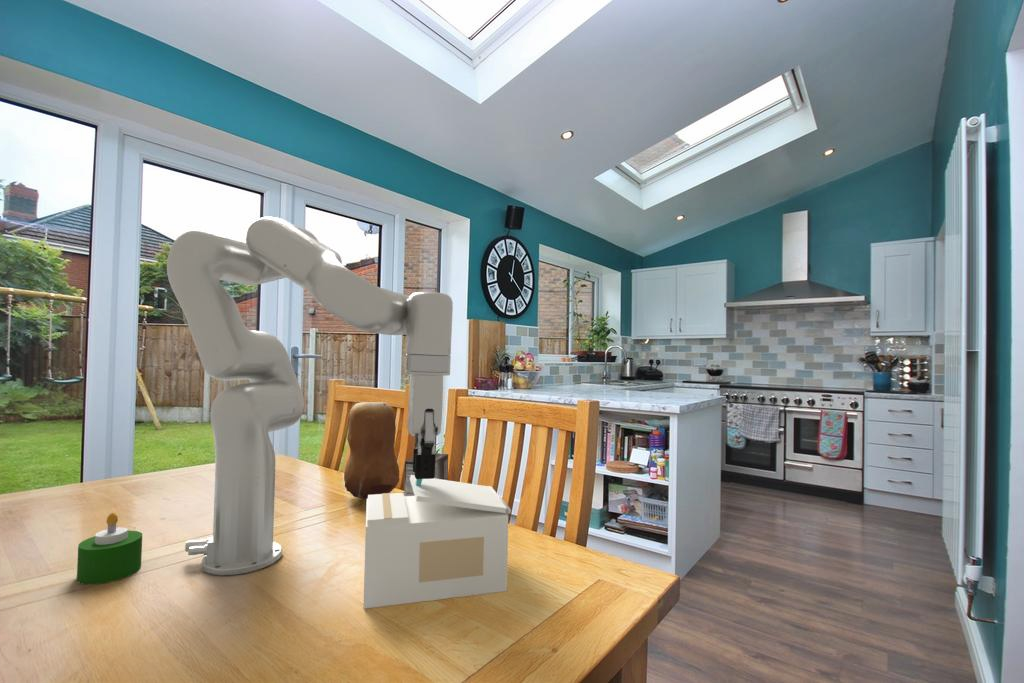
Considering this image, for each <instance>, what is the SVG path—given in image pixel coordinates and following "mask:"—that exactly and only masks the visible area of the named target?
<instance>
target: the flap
mask: <svg viewBox="0 0 1024 683" xmlns="http://www.w3.org/2000/svg"><path fill="white" fill-rule="evenodd" d="M410 482H411V485H412V488H413V492H414V495H415V499H416V501H419V502H426V503H433V504H441V505H448V506H456V507H463V508H470V509H478V510H485V511H493V512H500V513H506V514H507V515H509V514H511V513H512V509H511V508H510V506H509V505H508V504H507V503H506V502H505V501H504V499H503V498H502V497H501V496H500V495H499V494H498V492H497V491H496V490H495V489H494V488H493V487H492V486H490V485H481V484H475V483H468V482H461V481H454V480H442V479H436V478H433V479H416V478H415V475H411V476H410Z"/></svg>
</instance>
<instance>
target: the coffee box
mask: <svg viewBox="0 0 1024 683" xmlns="http://www.w3.org/2000/svg"><path fill="white" fill-rule="evenodd" d="M435 454H436V458H435V477H434V478H436V479H442V480H448V479H449V478H448V477H449V453H435ZM411 475H415V473H414V472H413V457H411V458H409V459H407V460H406V461H404V485H403V486H404V487H403V488H404V490H403V491H404V493H403V495H404V496H415V495H414V492H413V488H412V485H411V482H410V476H411Z"/></svg>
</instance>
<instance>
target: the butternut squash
mask: <svg viewBox="0 0 1024 683" xmlns="http://www.w3.org/2000/svg"><path fill="white" fill-rule="evenodd" d="M395 416H396V415H395V411H394V409H393V407H392V405H390V404H389V403H387V402H382V401H374V402H373V401H372V402H371V401H368V402H366V401H362V402H358V403H356V404H353V405H352V407H351V408H350V411H349V413H348V420H347V421H348V423H347V424H348V428H347V431H348V432H347V442H348V446H349V455H348V458H347V461H346V463H345V466H344V472H343V474H344V475H343V478H344V479H343V482H344V487H345V489H346V492H349V494H351V495H352V496H353V497H354V498H356V499H361V500H367V499H368V495H374V494H382V493H389V494H391V492H392V491H393V490H395V489H396V487H397V486H398V484H399V482H400V467H399V463H398V460H397V458H396V454H395V443H396V431H397V429H396V427H397V426H396V418H395Z"/></svg>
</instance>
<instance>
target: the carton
mask: <svg viewBox="0 0 1024 683" xmlns="http://www.w3.org/2000/svg"><path fill="white" fill-rule="evenodd" d="M365 508H366V510H365V512H366V513H365V515H366V516H365V541H364V543H365V544H364V547H365V548H364V573H363V574H364V578H363V579H364V580H363V609H364V610H365V609H373V608H381V607H390V606H396V605H403V604H404V605H406V604H413V603H414V604H415V603H422V602H427V601H437V600H444V599H453V598H462V597H469V596H477V595H479V596H480V595H485V594H493V593H500V592H502V593H503V592H507V591H508V590H507V589H508V556H509V555H508V554H509V553H508V547H509V546H508V545H509V543H508V542H509V514H506V513H500V512H493V511H485V510H478V509H470V508H463V507H456V506H448V505H441V504H433V503H426V502H419V501H416V499H415V496H404V493H403V492H395V493H394V492H393V493H391V492H390V493H382V494H374V495H368V499H366V507H365Z"/></svg>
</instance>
